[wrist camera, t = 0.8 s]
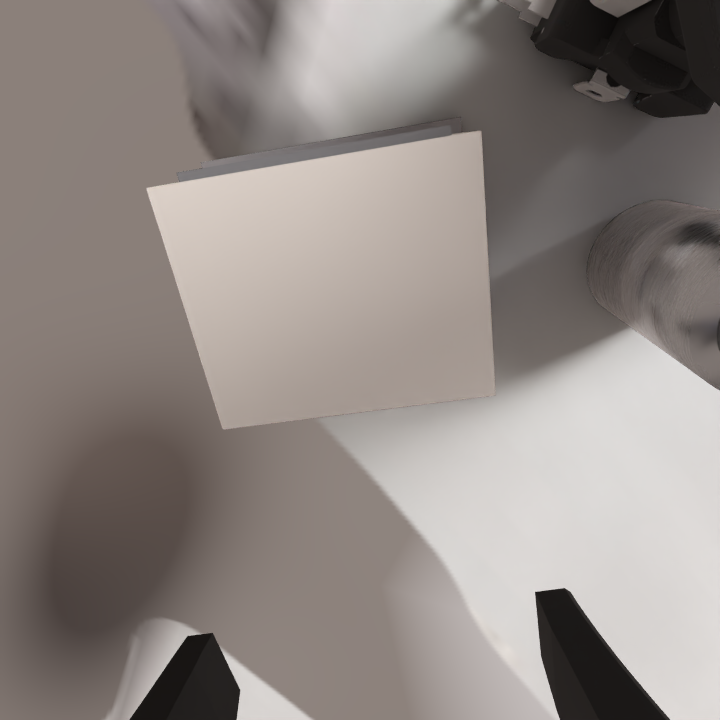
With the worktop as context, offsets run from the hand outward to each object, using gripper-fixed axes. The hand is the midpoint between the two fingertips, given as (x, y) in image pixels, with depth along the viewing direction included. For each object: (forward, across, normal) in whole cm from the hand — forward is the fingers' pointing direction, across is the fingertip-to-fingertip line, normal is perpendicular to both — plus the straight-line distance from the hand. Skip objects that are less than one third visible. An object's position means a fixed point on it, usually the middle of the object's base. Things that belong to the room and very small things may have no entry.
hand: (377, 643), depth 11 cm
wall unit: (+9, 0, -7) cm, 12 cm away
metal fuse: (+10, -10, -4) cm, 15 cm away
